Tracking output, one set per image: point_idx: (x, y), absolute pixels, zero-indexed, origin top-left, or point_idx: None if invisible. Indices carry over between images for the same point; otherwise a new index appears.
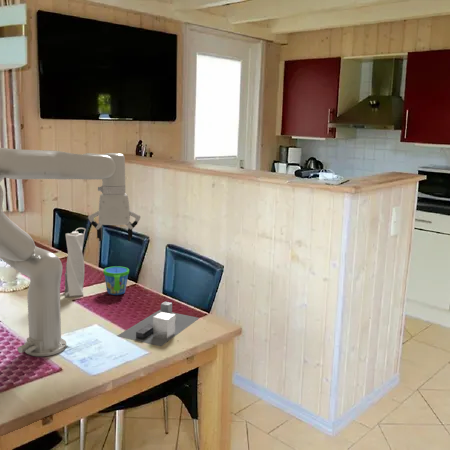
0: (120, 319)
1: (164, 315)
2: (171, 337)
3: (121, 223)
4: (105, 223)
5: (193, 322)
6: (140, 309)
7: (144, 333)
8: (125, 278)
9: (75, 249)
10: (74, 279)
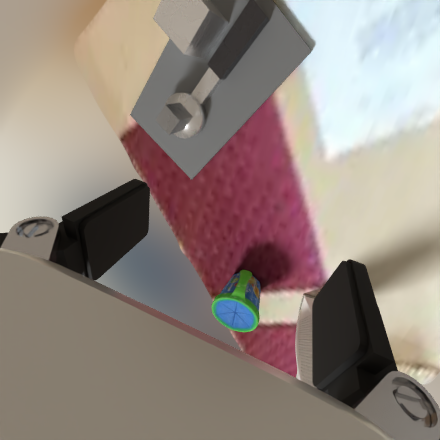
0: (270, 166)
1: (179, 17)
2: None
3: (46, 276)
4: (327, 416)
5: (141, 93)
6: (223, 201)
7: (247, 3)
8: (224, 290)
9: None
10: None
